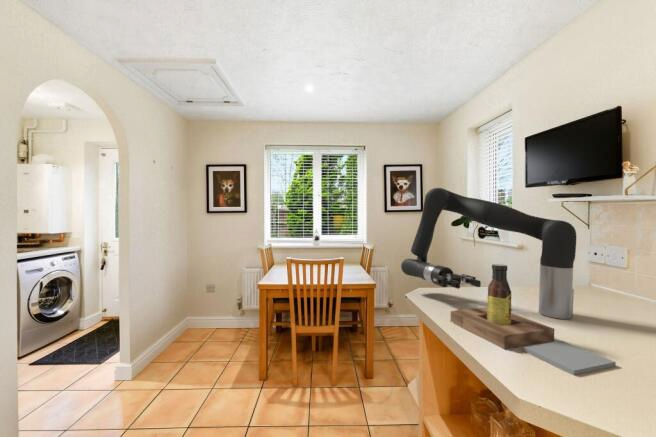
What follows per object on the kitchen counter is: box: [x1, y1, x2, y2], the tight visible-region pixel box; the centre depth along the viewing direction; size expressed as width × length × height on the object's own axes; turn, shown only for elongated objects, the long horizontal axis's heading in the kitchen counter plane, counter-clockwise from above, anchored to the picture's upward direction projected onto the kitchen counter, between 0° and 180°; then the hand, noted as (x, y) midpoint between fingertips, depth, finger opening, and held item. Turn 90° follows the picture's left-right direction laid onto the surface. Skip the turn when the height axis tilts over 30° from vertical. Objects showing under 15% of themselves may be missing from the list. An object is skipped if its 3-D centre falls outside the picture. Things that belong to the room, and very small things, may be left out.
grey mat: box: [522, 340, 617, 376], centre depth 74 cm, size 14×12×1 cm
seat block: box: [449, 306, 555, 350], centre depth 90 cm, size 18×20×4 cm
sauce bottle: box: [486, 263, 512, 326], centre depth 90 cm, size 6×6×20 cm
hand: (469, 284), depth 101 cm, fingers open, 8 cm apart
